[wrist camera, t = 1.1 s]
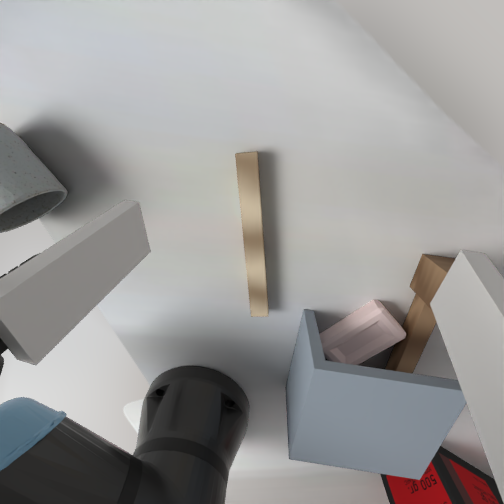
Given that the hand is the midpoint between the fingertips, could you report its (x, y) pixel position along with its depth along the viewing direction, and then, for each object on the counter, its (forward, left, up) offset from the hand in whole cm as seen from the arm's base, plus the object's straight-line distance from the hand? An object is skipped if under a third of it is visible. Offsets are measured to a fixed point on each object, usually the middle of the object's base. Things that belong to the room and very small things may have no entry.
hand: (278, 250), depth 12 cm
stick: (-6, +1, -18) cm, 19 cm away
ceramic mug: (-3, +27, -17) cm, 32 cm away
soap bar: (-16, -13, -18) cm, 27 cm away
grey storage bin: (-20, -13, -17) cm, 29 cm away
